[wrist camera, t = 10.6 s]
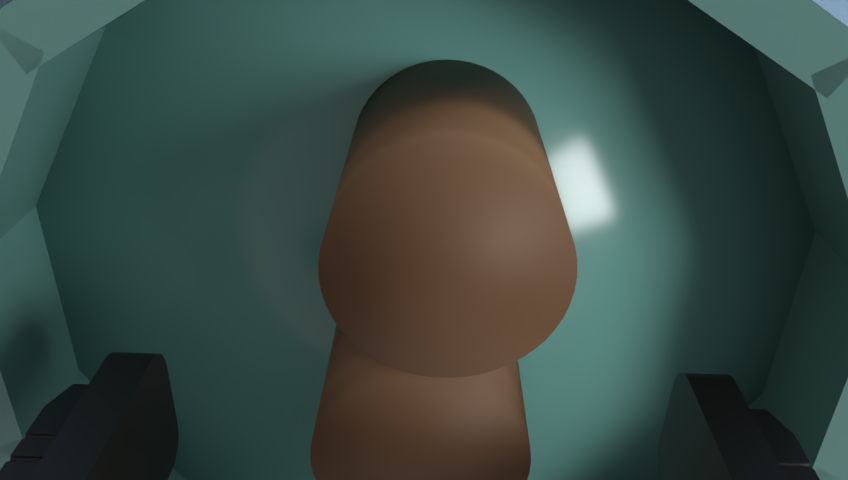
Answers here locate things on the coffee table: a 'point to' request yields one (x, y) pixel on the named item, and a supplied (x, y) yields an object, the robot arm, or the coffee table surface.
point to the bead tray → (318, 182)
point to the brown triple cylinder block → (439, 280)
